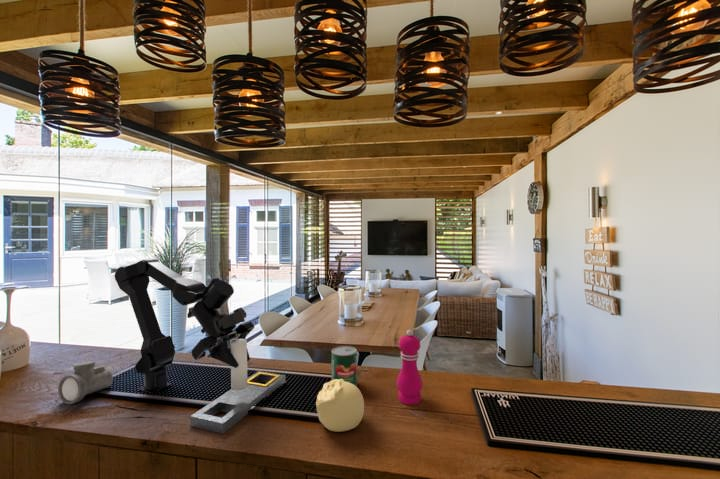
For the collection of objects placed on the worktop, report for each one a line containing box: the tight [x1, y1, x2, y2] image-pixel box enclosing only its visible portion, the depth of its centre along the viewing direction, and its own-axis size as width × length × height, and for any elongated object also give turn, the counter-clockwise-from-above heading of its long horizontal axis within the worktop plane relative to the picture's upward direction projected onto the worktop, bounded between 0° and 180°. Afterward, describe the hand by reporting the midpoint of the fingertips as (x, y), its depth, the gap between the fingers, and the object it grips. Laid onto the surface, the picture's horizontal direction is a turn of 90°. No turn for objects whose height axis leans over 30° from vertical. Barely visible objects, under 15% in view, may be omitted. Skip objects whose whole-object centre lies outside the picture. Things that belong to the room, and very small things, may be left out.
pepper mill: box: [396, 329, 423, 406], centre depth 98 cm, size 7×7×20 cm
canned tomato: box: [331, 345, 358, 387], centre depth 108 cm, size 8×8×11 cm
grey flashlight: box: [57, 360, 114, 405], centre depth 103 cm, size 12×8×10 cm
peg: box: [229, 339, 248, 390], centre depth 94 cm, size 4×4×12 cm
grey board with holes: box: [189, 370, 287, 434], centre depth 98 cm, size 28×10×3 cm, turn 161°
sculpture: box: [315, 379, 365, 433], centre depth 87 cm, size 11×12×11 cm
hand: (243, 363), depth 94 cm, fingers closed on peg, 4 cm apart
